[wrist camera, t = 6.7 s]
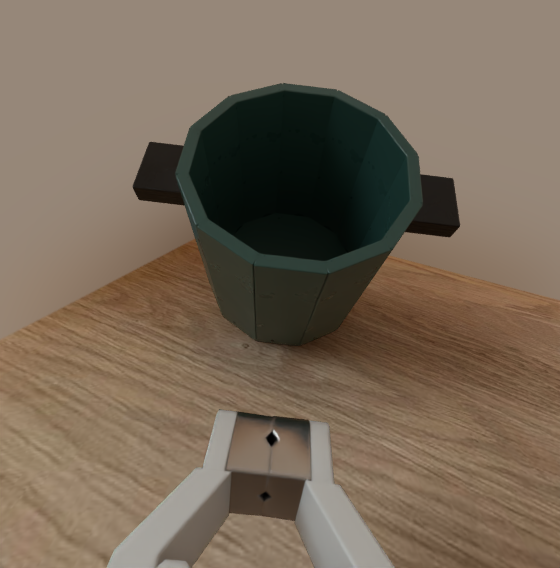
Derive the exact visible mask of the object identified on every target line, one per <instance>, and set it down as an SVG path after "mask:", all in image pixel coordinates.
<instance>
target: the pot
mask: <svg viewBox="0 0 560 568" xmlns="http://www.w3.org/2000/svg"><path fill="white" fill-rule="evenodd" d="M133 189H134V191H135V193H136V195H137V197H138V199H139V200H143V201H152V202H160V203H168V204H177V205H185V208H186V211H187V214H188V217H189V220H190V223H191V226H192V230H193V233H194V236H195V239H196V242H197V245H198V248H199V251H200V255H201V258H202V261H203V264H204V267H205V270H206V273H207V276H208V279H209V283H210V285H211V288H212V290H213V293H214V295H215V298H216V300H217V303H218V305H219V308H220V311H221V313H222V315H223V317H224V318H226V319H227V320H228V321H230V322H231V323H232V324H234V325H235V326H236V327H238V328H239V329H240V330H242V331H243V332H244V333H246V334H247V335H249V336H250V337H251V338H253V339H254V340H255V341H256V340H257V341H260V342H268V343H277V344H285V345H293V346H301V345H303V344H305V343H308V342H310V341H312V340H315V339H317V338H319V337H322V336H324V335H326V334H329V333H331V332H333V331H336V329H338V328H339V326H340V325H341V323H342V322H343V320H344V319H345V318H346V316H347V315H348V313H349V312H350V310H351V309H352V307H353V306H354V305H355V303H356V302H357V300H358V299H359V297H360V296H361V295H362V293H363V292H364V290H365V289H366V287H367V286H368V284H369V283H370V282H371V280H372V279H373V277H374V276H375V274H376V273H377V271H378V270H379V269H380V267H381V266H382V264H383V263H384V261H385V260H386V258H387V257H388V256H389V254H390V253H391V251H392V250H393V248H394V247H395V245H396V244H397V242H398V241H399V240H400V238H401V237H402V235H403V234H404V232H409V233H418V234H426V235H435V236H442V237H451V236H452V235H453V234H454V232H455V231H456V230H457V229H458V228H459V227H460V222H459V214H458V208H457V201H456V194H455V187H454V180H453V178H446V177H438V176H430V175H421V174H420V166H419V156H418V154H417V153H416V151H415V150H414V149H413V148H412V146H411V145H410V144H409V143H408V141H407V140H406V139H405V138H404V136H403V135H402V134H401V132H400V131H399V130H398V129H397V127H396V126H395V125H394V124H393V122H392V121H391V120H390V119H389V117H388V116H385V114H384V113H382V112H380V111H378V110H376V109H374V108H372V107H370V106H368V105H367V104H365V103H363V102H361V101H359V100H357V99H355V98H353V97H351V96H349V95H347V94H345V93H343V92H341V91H337V90H336V89H327V88H318V87H311V86H302V85H293V84H286V83H283V84H277V85H272V86H268V87H264V88H260V89H255V90H251V91H247V92H243V93H239V94H235V95H231V96H228V97H227V98H226V99H225V100H223V101H222V102H221V103H220V104H218V105H217V106H216V107H214V108H213V109H212V110H211V111H209V112H208V113H207V114H206V115H204V116H203V117H202V118H201V119H199V120H198V121H197V122H196V123H194V124H193V125H192V126H191V127H190V128H189V131H188V134H187V138H186V141H185V144H184V146H181V145H173V144H164V143H156V142H149V145H148V147H147V149H146V152H145V155H144V157H143V160H142V163H141V165H140V168H139V171H138V173H137V176H136V179H135V181H134V184H133Z"/></svg>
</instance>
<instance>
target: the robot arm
mask: <svg viewBox="0 0 560 568" xmlns="http://www.w3.org/2000/svg"><path fill="white" fill-rule="evenodd" d="M229 513H235V514H246V515H257V516H266V517H272V518H279V519H286V520H292V521H295V525H296V527H297V529H298V532H299V534H300V536H301V538H302V541H303V543H304V545H305V548H306V550H307V552H308V554H309V557H310V559H311V561H312V563H313V566H314V568H395V567H394V565H393V564H392V562H391V561H390V559H389V558H388V556H387V555H386V553H385V552H384V550H383V549H382V547H381V546H380V544H379V543H378V541H377V539H376V538H375V536H374V535H373V533H372V532H371V530H370V529H369V527H368V526H367V524H366V523H365V521H364V520H363V518H362V517H361V515H360V514H359V512H358V511H357V509H356V508H355V506H354V505H353V503H352V502H351V500H350V499H349V497H348V496H347V494H346V493H345V491H344V490H343V488H342V487H341V485H339V484H334V473H333V462H332V450H331V438H330V426H329V424H328V423H327V422H319V421H309V420H305V419H296V418H287V417H277V416H273V417H270V416H264V415H257V414H250V413H244V412H237V411H229V410H221V409H219V411H218V413H217V415H216V419H215V422H214V426H213V430H212V434H211V437H210V441H209V445H208V449H207V452H206V456H205V460H204V464H203V467H202V468H200V467H196V468H195V469H194V470H193V471H192V472H191V473H190V474H189V475H188V476H187V477H186V478H185V479H184V480H183V481H182V482H181V483H180V484H179V485H178V486H177V487H176V488H175V489H174V490H173V491H172V492H171V493H170V494H169V495H168V496H167V497H166V498H165V499H164V500H163V501H162V502H161V504H160V505H159V506H158V507H157V508H156V509H155V510H154V511H153V512H152V513H151V514H150V515H149V516H148V517H147V518H146V519H145V520H144V521H143V522H142V523H141V524H140V525H139V526H138V527H137V528H136V529H135V530H134V531H133V532H132V533H131V534H130V535H129V536H128V537H127V538H126V539H125V540H124V541H123V542H122V543H121V544H120V545H119V546H118V547H117V548H116V549H115V550H114V552H113V554H112V556H111V559H110V561H109V564H108V566H107V568H192V566H193V565H194V563H195V562H196V561H197V559H198V558H199V556H200V555H201V554H202V552H203V551H204V549H205V548H206V547H207V545H208V544H209V542H210V541H211V540H212V538H213V537H214V535H215V534H216V533H217V531H218V530H219V528H220V527H221V526H222V524H223V523H224V521H225V520H226V519H227V517H228V516H229Z"/></svg>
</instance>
